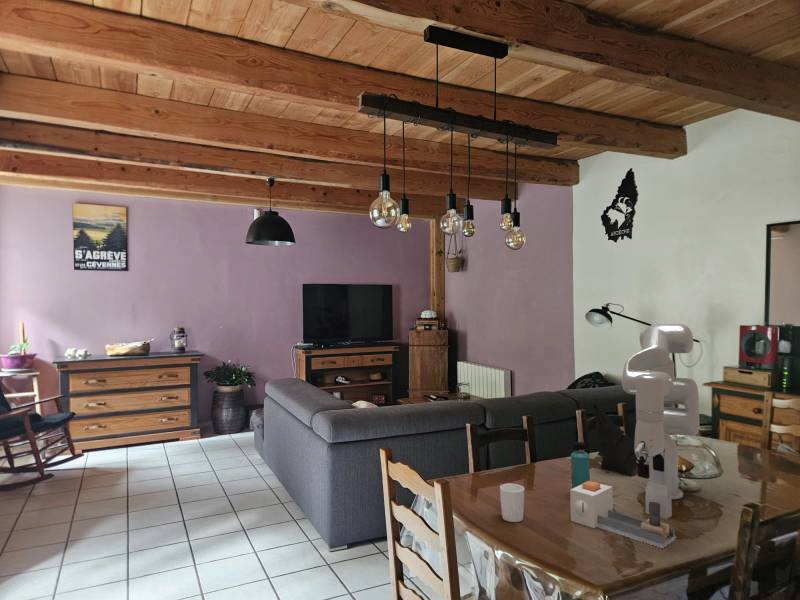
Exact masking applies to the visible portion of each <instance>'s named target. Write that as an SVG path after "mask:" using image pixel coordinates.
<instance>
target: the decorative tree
mask: <svg viewBox="0 0 800 600" xmlns="http://www.w3.org/2000/svg"><path fill="white" fill-rule="evenodd" d="M592 404H593V415H594V424H595V428H596V429H598V431H597V439H598V442H600V445H599V451H598V454H597V456H599V457H602V460H601V464H600V468H601V469H606V470H608V471H612V472H615V473H617V474H620V473H621V474H620V475H623V474H624V476H627V475H628V477H632V475H633V474H634V472H635V471H636V469H638V468H637V459H636V455H635V437H631V436H628V435H626V434H625V433H626V431H624V430H622V429H621V428H620V427H619V426H618V425H617V424H615V420H614V419H613V418H612V417H611V416H610V415H608V414H606V413H605V412H603V411H602V410H601V409H600V408H599V407H598V406H597V405H596V404H595V403H592Z"/></svg>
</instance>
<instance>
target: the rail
mask: <svg viewBox="0 0 800 600" xmlns="http://www.w3.org/2000/svg"><path fill="white" fill-rule="evenodd" d="M597 518H598V523H596V525H597V527H596V528H598V529H602V530H603V531H604V530H605V531H607V532H611V533H614V534H616V535H619V536H622V537H626V538H628V537H629V538H628V539H632V540H634V541H637V542H640V543H643V542H644V543H643V544H646V543H647V545H649V544H650V546H652V545H654V546H653V547H655V546H657V547H656V548H658V547H660V548H659V549H661V548H663V549H665V548H667V545H668V544H669V545H670V544H672V543H673V542H674V541H676V540H677V535H675V533H676V532H675V528H673V527H669V536H667V537H666V538H665V536H664V535H661V534H658V533H654V532H651V531H648V530H645V529H642V528H641V523H642V522H644V521H646V520H647V519H646V520H645V519H643V518H640V517H635V516H632V515H629V514H625V513H622V512H619V511H615V510H613V511H612V510H608V517H607V518H606V517H603V516H600V515H599V516H597ZM675 539H676V540H675ZM671 542H672V543H671ZM669 545H668V546H669ZM664 547H665V548H664Z"/></svg>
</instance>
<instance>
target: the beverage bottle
mask: <svg viewBox="0 0 800 600" xmlns="http://www.w3.org/2000/svg"><path fill="white" fill-rule="evenodd" d="M573 449H574V450H575V451H573V452H572V453H571V454H570V462H571V463H570V464H571V465H570V468H571V469H570V471H571V472H570V475H571V486H570V487H571V489H573V488H575V487H577V486H579V485H582V483H585V482H587V481H591V471H590V470H591V469H590V455H589V454H588V453H587V452H586V451H584V450H587V449H586V443H585V442H583V441H575V442H574V443H573Z"/></svg>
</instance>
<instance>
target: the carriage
mask: <svg viewBox="0 0 800 600" xmlns="http://www.w3.org/2000/svg"><path fill="white" fill-rule="evenodd" d="M641 528H642V529H645V530H648V531H651V532H654V533H658V534H661V535H664V536H665V538H666V537H667V536H669V528H670V524H667V523H664V522H661V518H660V504H659V503H657V502H649V514H648V518H647V519H646V521H644V522H642V523H641Z"/></svg>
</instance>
